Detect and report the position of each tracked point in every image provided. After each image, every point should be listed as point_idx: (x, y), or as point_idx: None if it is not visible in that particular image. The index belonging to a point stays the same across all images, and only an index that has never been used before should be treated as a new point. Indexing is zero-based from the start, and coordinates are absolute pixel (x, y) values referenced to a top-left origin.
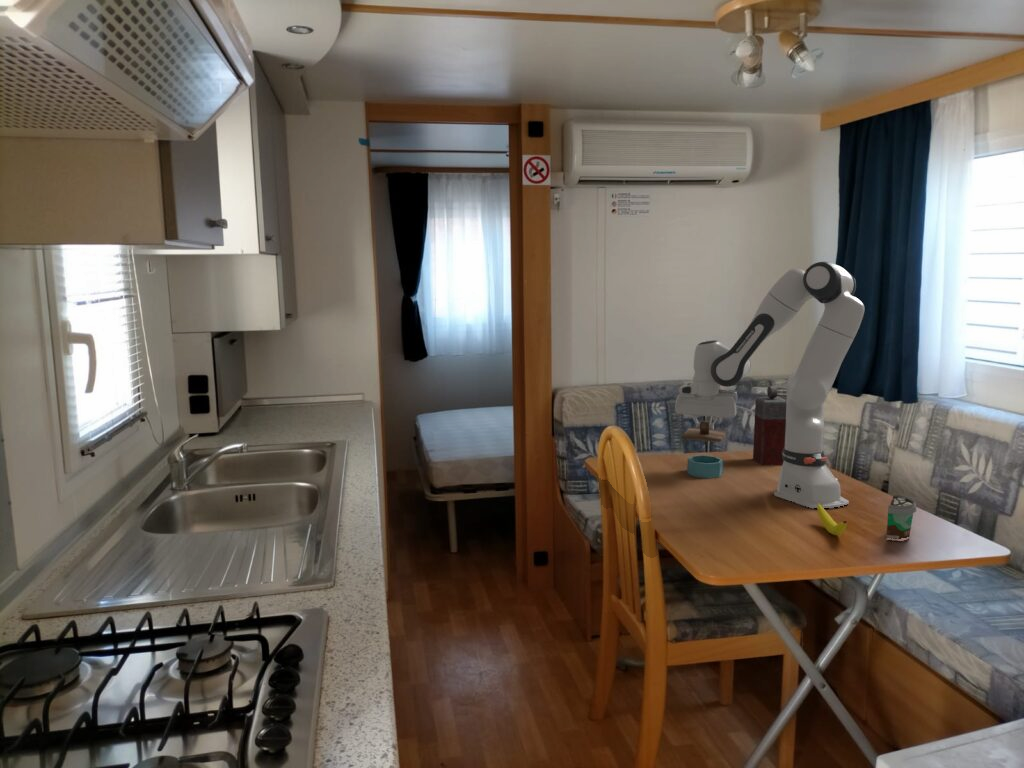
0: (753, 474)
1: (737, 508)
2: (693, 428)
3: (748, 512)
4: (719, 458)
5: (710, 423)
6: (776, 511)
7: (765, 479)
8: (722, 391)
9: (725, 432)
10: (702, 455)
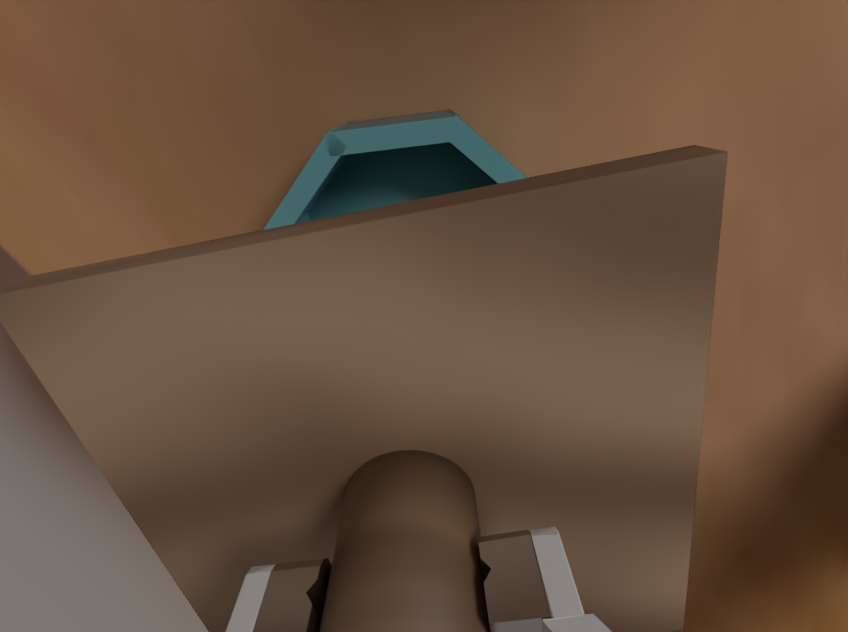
0: (750, 43)
1: (693, 606)
2: (73, 295)
3: (735, 619)
4: (509, 170)
5: (503, 619)
6: (842, 575)
7: (838, 137)
8: None
9: (704, 280)
10: (330, 150)
